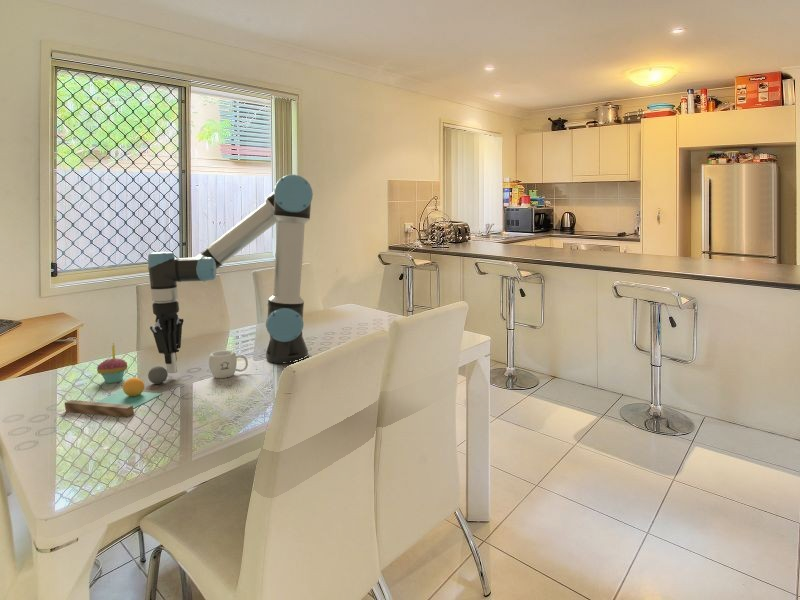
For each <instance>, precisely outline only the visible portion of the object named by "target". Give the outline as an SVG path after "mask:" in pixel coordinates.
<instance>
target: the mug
mask: <svg viewBox="0 0 800 600" xmlns="http://www.w3.org/2000/svg"><path fill="white" fill-rule="evenodd" d="M239 358H242V359H244V362H245V366H244V367H243V368H242V369H238V368H237V363H238V362H237V359H239ZM208 365H209V370H210V373H211V375H212V376H213V378H215V379H228V378H231V377H232V376H234V375H235V372H244V371H246V370H247V369H248V366H249V362H248V359H247V357H246V356H244V355H242V354H239V355H236V352H235V351H233V350H229V349H228V350H225V349H224V350H216V351H213V352H211V353H210V354H209V357H208ZM227 377H228V378H227Z"/></svg>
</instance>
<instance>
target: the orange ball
mask: <svg viewBox="0 0 800 600" xmlns="http://www.w3.org/2000/svg"><path fill="white" fill-rule="evenodd" d="M122 390H123V391H124V393H125V394H126V395H128V396H131V397H135V396H138V395H140V394H141V393H142V392H144V390H145V383H144V380H142V379H141V378H139V377H131V378H127V379H126V381H124V383H123V385H122Z"/></svg>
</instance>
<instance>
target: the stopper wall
mask: <svg viewBox="0 0 800 600" xmlns="http://www.w3.org/2000/svg"><path fill="white" fill-rule="evenodd" d="M64 408H65V409H64V410H65V412H67V411H70V412H69V413H77V414H78V413H79V414H88V415H89V414H90V415H100V416H110V417H120V418H130V417H132V416H134V415H135V411H134V409H133V405H122V404H111V403H100V402H97V401H86V400H74V399H70V400H67V401H65V402H64Z"/></svg>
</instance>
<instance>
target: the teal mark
mask: <svg viewBox="0 0 800 600" xmlns="http://www.w3.org/2000/svg"><path fill="white" fill-rule="evenodd" d="M162 395H163V393H160V392H150V391H149V392H147V391H143V392H142V393H141V394H140V395H138V396H135V397H131V396H128V395H126V394H125V393H124V391H123V389H122V390H120V391H118V392H115V393H112V394H111V395H108V396H106V397H104V398H102V399H100V400H97V401H96V402H100V403H111V404H122V405H133V410H134V409H136V408H138V407H140V406H142V405H144V404H146V403H147V402H149V401H152V400H153V399H155V398H158V397H160V396H162Z"/></svg>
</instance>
